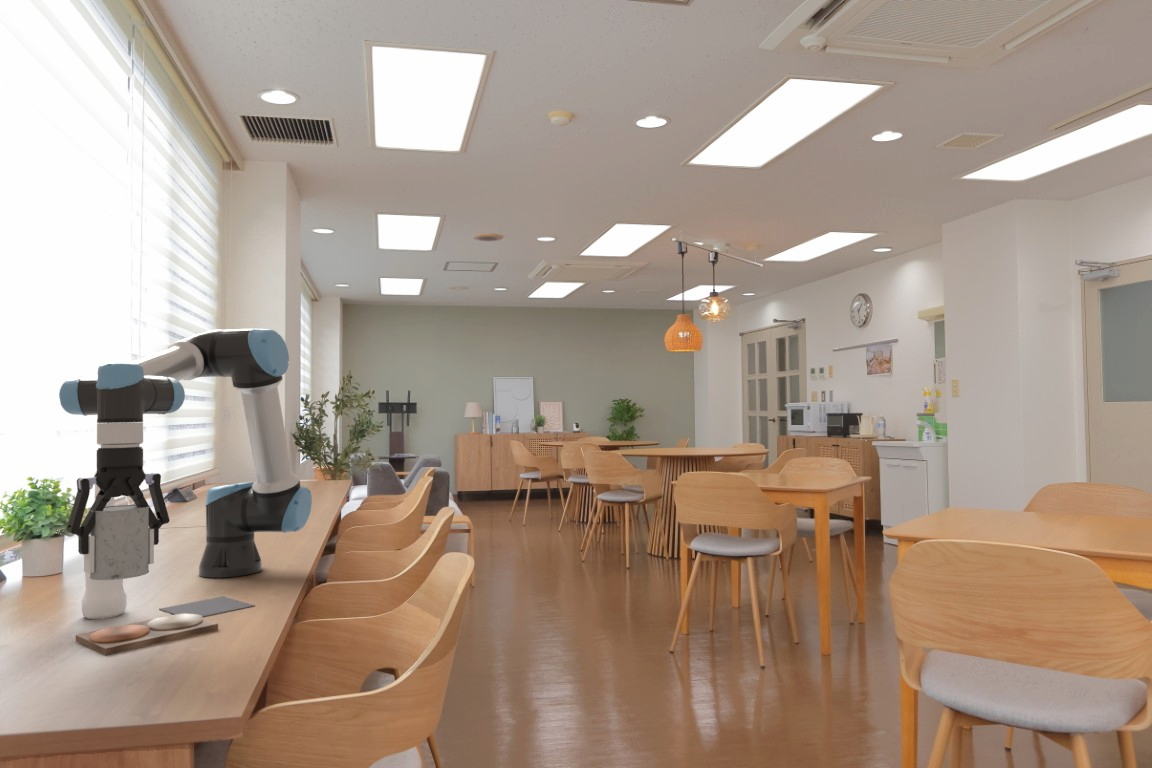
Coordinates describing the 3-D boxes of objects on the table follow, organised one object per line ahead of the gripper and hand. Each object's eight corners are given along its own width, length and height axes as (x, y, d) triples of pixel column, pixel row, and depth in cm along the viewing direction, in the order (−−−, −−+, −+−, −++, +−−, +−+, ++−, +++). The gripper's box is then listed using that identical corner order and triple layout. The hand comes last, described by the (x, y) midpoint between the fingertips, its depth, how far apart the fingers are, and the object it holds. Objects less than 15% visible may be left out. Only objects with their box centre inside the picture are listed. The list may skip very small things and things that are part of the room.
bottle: (135, 611, 170) (135, 470, 171) (101, 621, 163) (102, 473, 164) (106, 608, 173) (107, 469, 174) (72, 618, 165) (72, 472, 166)
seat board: (184, 618, 164) (185, 609, 164) (218, 629, 155) (218, 620, 155) (75, 641, 149) (75, 631, 149) (105, 655, 140) (105, 645, 140)
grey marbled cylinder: (122, 580, 143) (122, 511, 143) (76, 579, 144) (77, 510, 145) (160, 570, 152) (160, 505, 152) (117, 568, 154) (117, 504, 154)
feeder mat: (223, 597, 182) (223, 596, 182) (254, 606, 173) (254, 605, 173) (159, 609, 172) (159, 608, 172) (189, 620, 163) (189, 619, 163)
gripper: (172, 443, 160) (172, 556, 159) (44, 448, 143) (43, 574, 142) (189, 443, 155) (189, 560, 154) (59, 449, 138) (58, 580, 137)
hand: (119, 567), depth 148 cm, fingers closed on grey marbled cylinder, 9 cm apart
